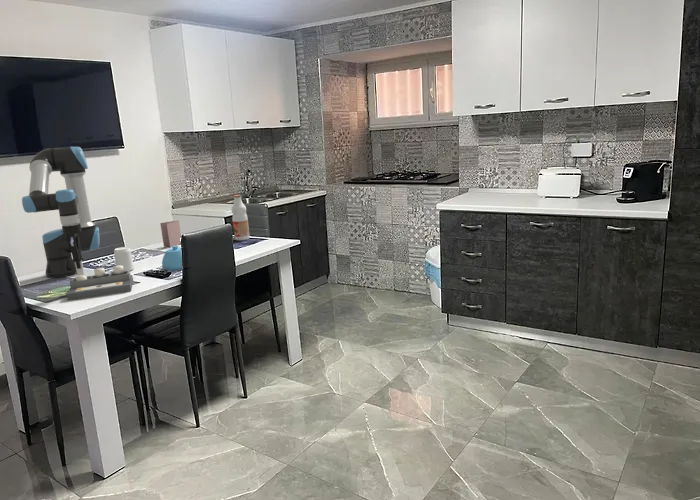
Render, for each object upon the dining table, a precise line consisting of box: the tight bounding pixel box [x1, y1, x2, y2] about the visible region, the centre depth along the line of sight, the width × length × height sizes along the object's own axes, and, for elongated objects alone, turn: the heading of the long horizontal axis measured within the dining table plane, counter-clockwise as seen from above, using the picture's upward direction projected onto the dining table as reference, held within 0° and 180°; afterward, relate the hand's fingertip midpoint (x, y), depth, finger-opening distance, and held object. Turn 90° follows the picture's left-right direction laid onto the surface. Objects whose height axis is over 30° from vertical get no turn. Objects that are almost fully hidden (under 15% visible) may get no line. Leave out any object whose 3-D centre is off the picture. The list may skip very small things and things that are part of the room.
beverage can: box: [113, 246, 135, 272], centre depth 274 cm, size 8×8×12 cm
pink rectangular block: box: [159, 219, 182, 249], centre depth 328 cm, size 11×7×15 cm, turn 124°
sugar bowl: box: [161, 245, 183, 272], centre depth 274 cm, size 15×15×12 cm
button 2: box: [112, 265, 124, 274], centre depth 246 cm, size 4×4×3 cm
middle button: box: [93, 267, 107, 277], centre depth 244 cm, size 4×4×3 cm
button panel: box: [65, 270, 134, 301], centre depth 242 cm, size 18×26×6 cm
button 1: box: [75, 274, 88, 281], centre depth 242 cm, size 4×4×3 cm
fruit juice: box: [231, 194, 250, 241], centre depth 332 cm, size 9×9×28 cm
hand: (80, 274), depth 242 cm, fingers closed
